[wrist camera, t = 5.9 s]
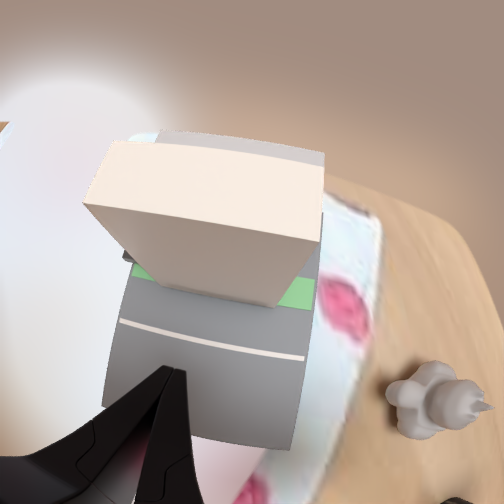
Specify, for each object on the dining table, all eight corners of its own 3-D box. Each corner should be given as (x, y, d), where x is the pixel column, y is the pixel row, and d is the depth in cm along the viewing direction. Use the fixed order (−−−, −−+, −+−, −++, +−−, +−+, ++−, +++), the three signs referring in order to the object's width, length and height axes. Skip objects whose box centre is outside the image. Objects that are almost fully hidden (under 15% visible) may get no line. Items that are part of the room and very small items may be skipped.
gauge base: (286, 445, 15) (313, 490, 8) (107, 404, 15) (47, 419, 8) (319, 219, 20) (351, 159, 14) (162, 192, 21) (137, 128, 14)
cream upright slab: (274, 308, 17) (319, 242, 7) (124, 277, 17) (31, 195, 7) (283, 249, 18) (324, 139, 9) (141, 225, 18) (77, 118, 9)
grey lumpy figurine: (424, 438, 15) (496, 456, 7) (357, 422, 15) (425, 452, 8) (448, 373, 16) (524, 367, 9) (386, 350, 17) (463, 338, 10)
